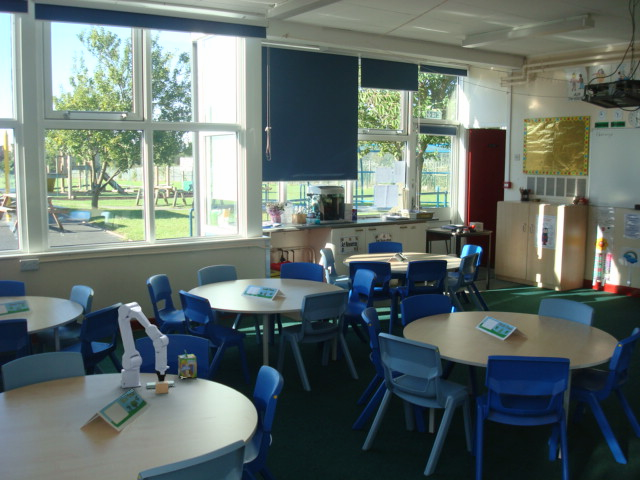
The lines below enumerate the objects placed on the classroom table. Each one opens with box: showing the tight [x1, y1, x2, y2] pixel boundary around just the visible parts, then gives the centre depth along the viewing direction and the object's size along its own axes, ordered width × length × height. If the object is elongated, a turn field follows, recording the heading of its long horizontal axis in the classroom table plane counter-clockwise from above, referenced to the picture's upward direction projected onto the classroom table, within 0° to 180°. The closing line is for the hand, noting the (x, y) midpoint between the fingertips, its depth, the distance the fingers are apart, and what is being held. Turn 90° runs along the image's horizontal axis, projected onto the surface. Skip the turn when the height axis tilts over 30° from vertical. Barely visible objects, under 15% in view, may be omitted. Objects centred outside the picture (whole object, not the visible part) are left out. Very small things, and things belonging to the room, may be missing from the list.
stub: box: [155, 380, 169, 395], centre depth 329 cm, size 6×5×5 cm
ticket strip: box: [145, 380, 175, 389], centre depth 338 cm, size 14×5×2 cm, turn 109°
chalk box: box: [177, 349, 198, 379], centre depth 356 cm, size 9×9×15 cm
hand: (161, 384), depth 332 cm, fingers closed
